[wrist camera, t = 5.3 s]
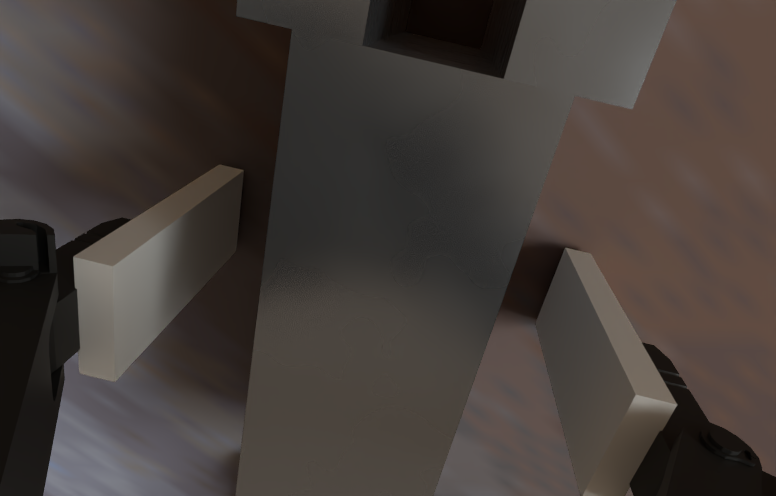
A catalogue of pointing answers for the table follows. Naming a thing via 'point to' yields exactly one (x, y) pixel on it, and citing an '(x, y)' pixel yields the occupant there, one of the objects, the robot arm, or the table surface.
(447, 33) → the table surface
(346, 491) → the long grey bar
